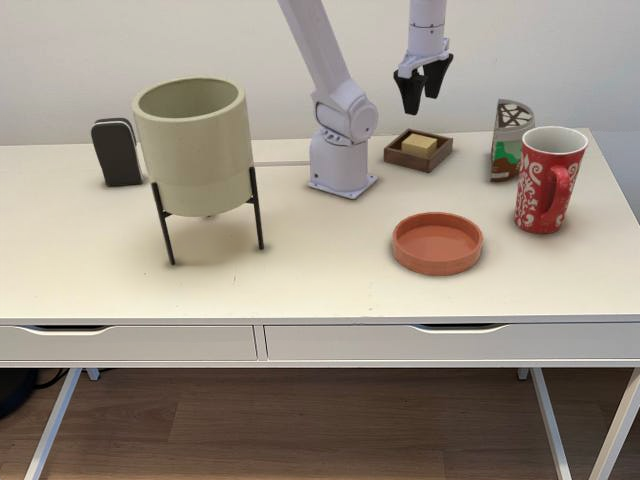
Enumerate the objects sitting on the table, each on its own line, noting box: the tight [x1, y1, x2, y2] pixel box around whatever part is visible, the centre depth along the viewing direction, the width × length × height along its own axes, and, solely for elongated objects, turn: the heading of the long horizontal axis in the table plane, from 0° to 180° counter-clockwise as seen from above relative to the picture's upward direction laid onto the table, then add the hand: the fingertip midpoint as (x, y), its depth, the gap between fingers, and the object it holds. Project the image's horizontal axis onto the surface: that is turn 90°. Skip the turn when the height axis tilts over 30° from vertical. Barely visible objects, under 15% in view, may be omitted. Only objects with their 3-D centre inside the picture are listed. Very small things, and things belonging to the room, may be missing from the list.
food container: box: [489, 98, 536, 183], centre depth 111 cm, size 12×6×10 cm, turn 168°
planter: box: [131, 74, 265, 266], centre depth 96 cm, size 15×16×23 cm
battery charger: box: [90, 117, 144, 187], centre depth 116 cm, size 7×4×11 cm, turn 92°
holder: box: [382, 128, 454, 174], centre depth 119 cm, size 9×9×2 cm
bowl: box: [391, 211, 484, 276], centre depth 98 cm, size 13×13×2 cm
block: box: [402, 134, 437, 158], centre depth 119 cm, size 5×4×2 cm
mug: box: [513, 125, 590, 235], centre depth 97 cm, size 13×9×14 cm
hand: (421, 105), depth 115 cm, fingers open, 7 cm apart
